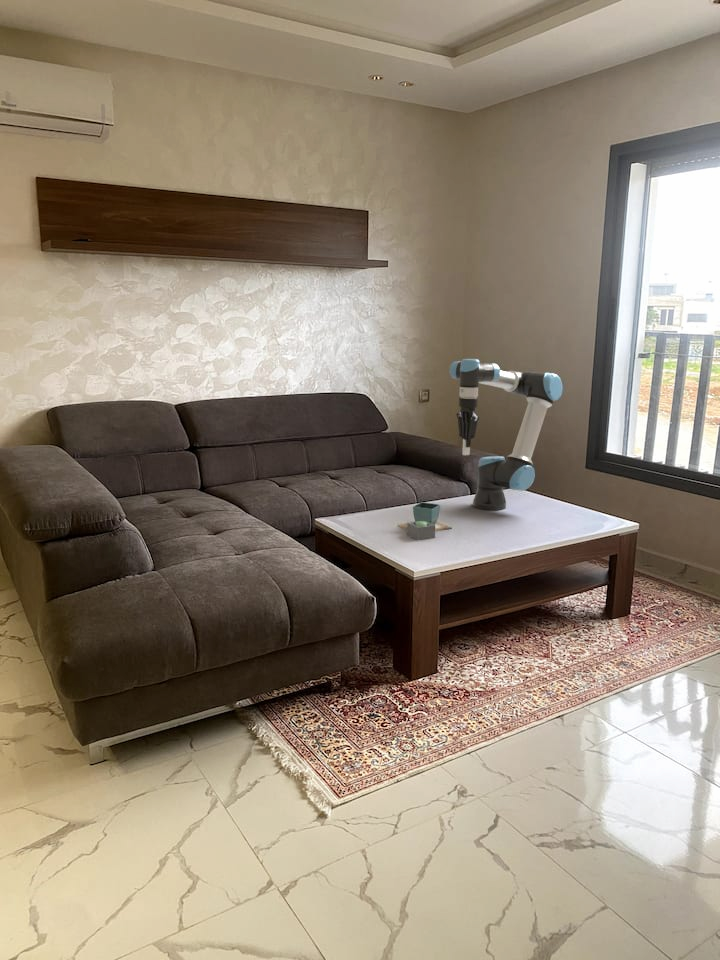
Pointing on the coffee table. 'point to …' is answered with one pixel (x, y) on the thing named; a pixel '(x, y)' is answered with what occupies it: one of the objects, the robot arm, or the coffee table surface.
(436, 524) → the board
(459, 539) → the coffee table surface
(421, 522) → the button
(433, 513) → the flower pot
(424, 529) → the button box
